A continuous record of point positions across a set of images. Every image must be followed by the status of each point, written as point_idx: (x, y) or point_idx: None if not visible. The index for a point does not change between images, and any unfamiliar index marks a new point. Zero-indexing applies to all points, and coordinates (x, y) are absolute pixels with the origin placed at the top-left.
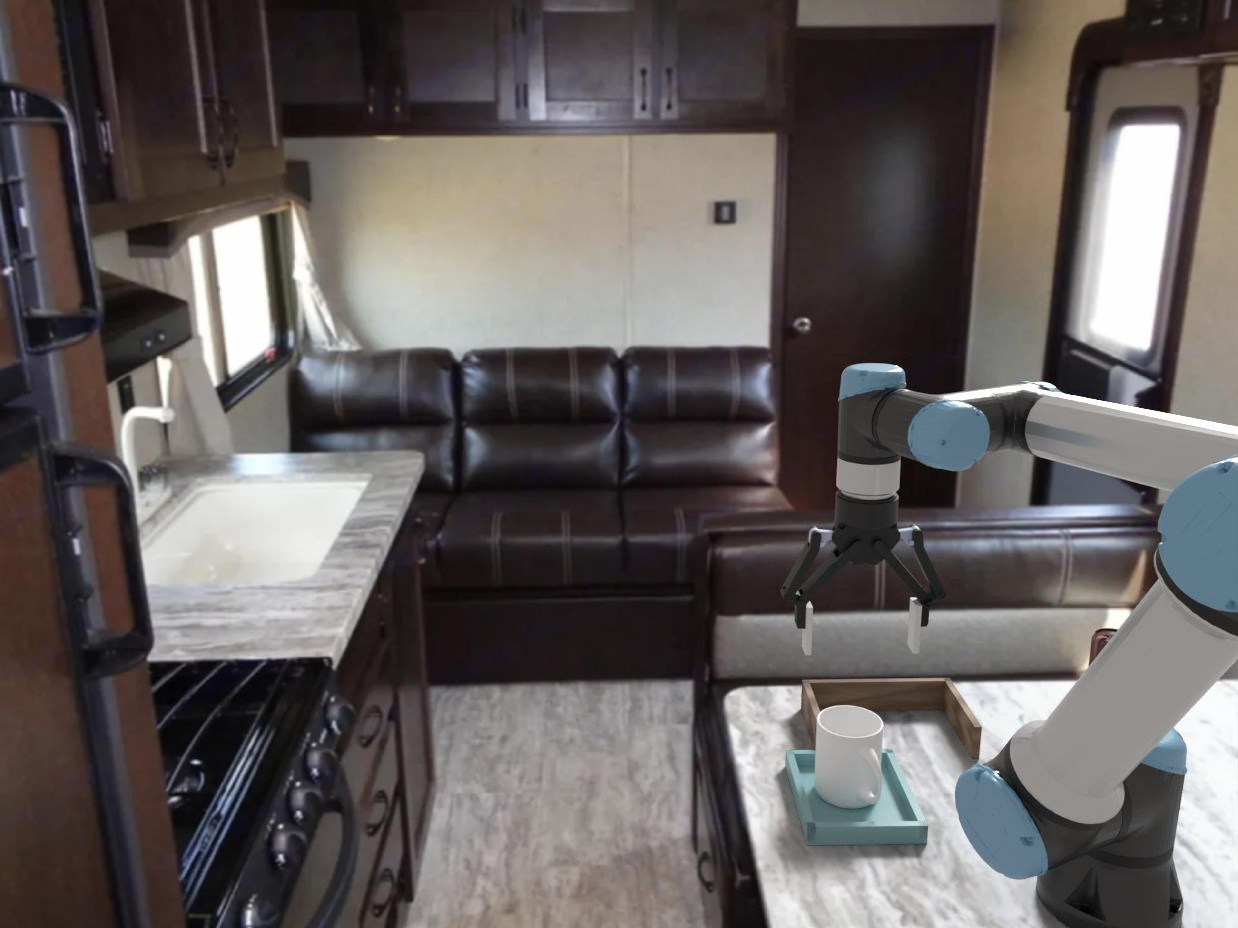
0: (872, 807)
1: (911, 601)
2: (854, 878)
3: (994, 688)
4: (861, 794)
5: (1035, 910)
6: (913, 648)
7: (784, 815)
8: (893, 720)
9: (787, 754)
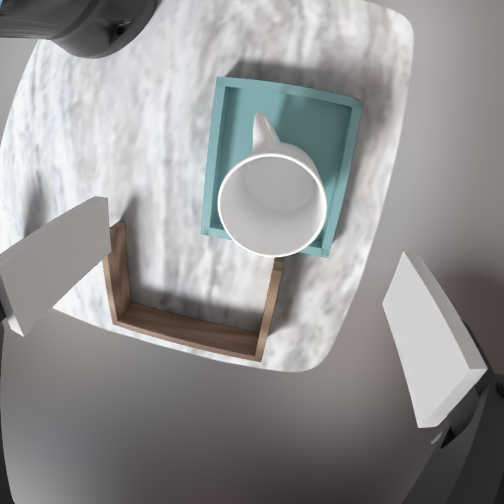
0: None
1: (22, 317)
2: (325, 40)
3: (89, 316)
4: (276, 138)
5: None
6: (98, 203)
7: (363, 159)
8: (179, 299)
9: (329, 248)
